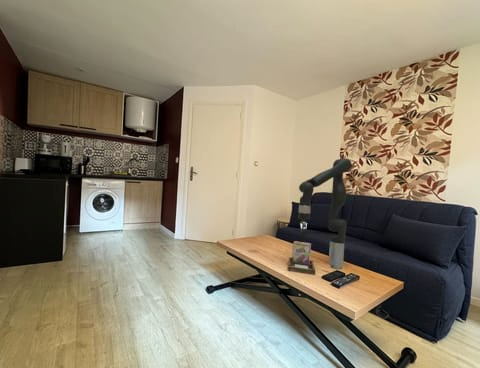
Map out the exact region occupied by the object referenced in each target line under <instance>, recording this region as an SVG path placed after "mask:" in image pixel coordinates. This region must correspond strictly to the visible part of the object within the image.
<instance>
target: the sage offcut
mask: <svg viewBox="0 0 480 368" xmlns="http://www.w3.org/2000/svg"><path fill="white" fill-rule="evenodd" d="M294 267H298V268H305V269H309V268H308V266H304V265H297V264H295V266H294Z"/></svg>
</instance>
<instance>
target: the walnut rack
mask: <svg viewBox="0 0 480 368" xmlns="http://www.w3.org/2000/svg"><path fill="white" fill-rule="evenodd" d="M295 264H297V265H304V266H308V269H305V268H298V267H295ZM287 268H288V269H287V272H292V273H293V272H294V273H299V274H304V275H305V274H306V275H310V276H311V275H312V276H315V275H316V269H315V265H314V260H311V259H310V264H307V263H299V262H292V257H288V267H287Z"/></svg>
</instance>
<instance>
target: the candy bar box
mask: <svg viewBox="0 0 480 368" xmlns="http://www.w3.org/2000/svg"><path fill="white" fill-rule="evenodd" d="M292 245H293V246H292V254H291V255H292V257H291V258H292V262H299V263H307V264H310V260H311V249H312V248H311V247H312V243H310V242H302V241H297V240H294V241H293V242H292Z"/></svg>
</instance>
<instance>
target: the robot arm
mask: <svg viewBox="0 0 480 368" xmlns="http://www.w3.org/2000/svg"><path fill="white" fill-rule="evenodd" d="M351 168H352V161H351V160H350V159H349V158H340V159H339V158H338V159H336V160H334V161H333V164H332V167H331V168H329V169H326V170H323V171H322V172H320V173H318V174H316V175H315V176H313V177H312V178H309V179H307V180H305V181H303V182H301V183H300V184H299V186H298V190H299V191H300V192H301V193H302V196H301V197H300V198H299V206H298V216H297V219H299V220H301V221H300V222H299V223H300V237H301V238H303V239H304V238H305V236H306V232H307V224H308V223H307V221H309V220H311V203H312V202H311V199H312V196H313V193H314V188H318V187H319V186H321V185H323V184H324V183H326V182H327V181H329V180H331V179H332V188H331V189H332V191H331V203H330V204H331V205H330V214H329V218H328V230H329V231H331V232H334V233H338V234H336V235H331V236H330V239H329V252H328V253H329V254H328V265H329V266H330V268H332V269H337V270H341V269H342V270H343V268H344V258H345V257H344V256H345V254H344V252H345V243H346V242H345V240H346V233H347V221H346V220H345V219H341V218H337V215H338V212H339V210H341V208H342V207H343V206H344V204H345V203H346V200H347V189H346V185H345V182H344V173H345V172H349V171H350V170H351Z"/></svg>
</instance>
